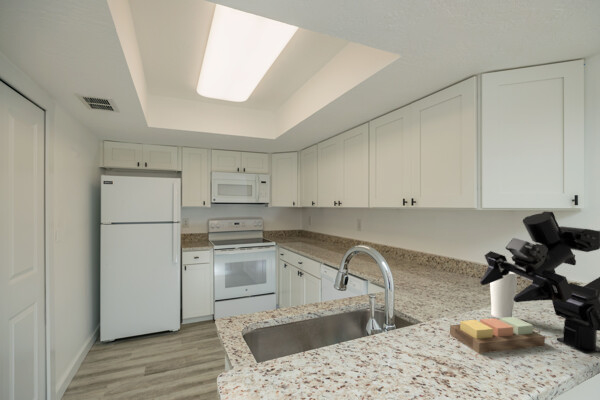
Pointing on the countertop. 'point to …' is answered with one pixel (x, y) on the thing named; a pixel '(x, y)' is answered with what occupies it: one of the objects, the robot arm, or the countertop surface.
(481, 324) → the ochre key
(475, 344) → the brown wooden slotted tray
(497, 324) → the terracotta key
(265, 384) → the countertop surface
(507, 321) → the sage key
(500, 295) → the white tall cylinder
